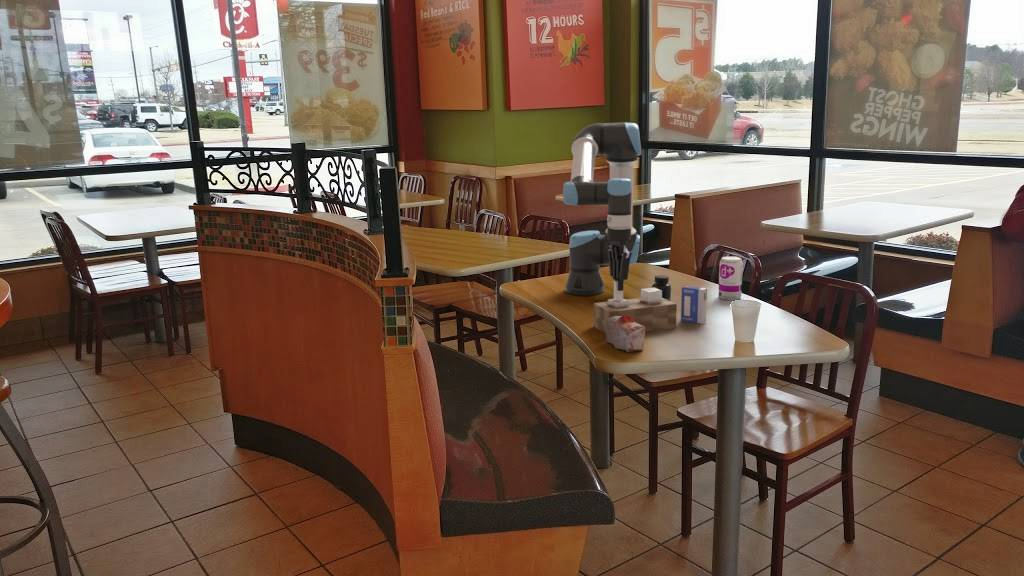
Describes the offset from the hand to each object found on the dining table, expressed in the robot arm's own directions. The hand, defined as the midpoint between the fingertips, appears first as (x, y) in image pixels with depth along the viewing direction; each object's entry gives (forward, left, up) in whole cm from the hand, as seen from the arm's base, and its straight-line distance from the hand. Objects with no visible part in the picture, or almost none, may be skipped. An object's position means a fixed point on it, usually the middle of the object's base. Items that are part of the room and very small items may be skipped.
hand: (618, 299), depth 265 cm
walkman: (+2, +27, -10) cm, 29 cm away
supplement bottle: (-16, +25, -10) cm, 32 cm away
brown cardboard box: (0, +6, -10) cm, 12 cm away
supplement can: (-20, +57, -10) cm, 61 cm away
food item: (+18, -7, -10) cm, 22 cm away
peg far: (0, +12, -6) cm, 14 cm away
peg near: (0, 0, -8) cm, 8 cm away
